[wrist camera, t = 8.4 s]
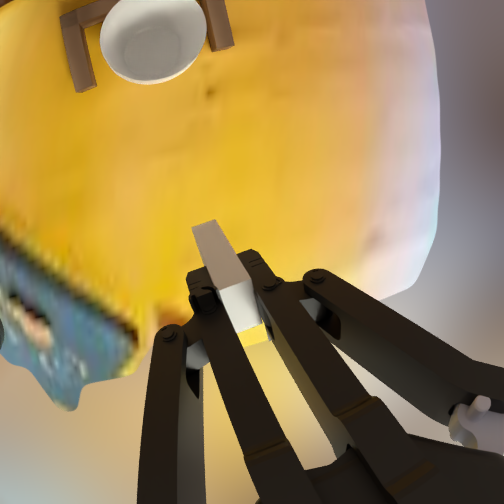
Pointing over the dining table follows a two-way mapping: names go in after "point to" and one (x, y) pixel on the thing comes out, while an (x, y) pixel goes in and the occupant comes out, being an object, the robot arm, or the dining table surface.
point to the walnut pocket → (97, 13)
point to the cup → (152, 38)
